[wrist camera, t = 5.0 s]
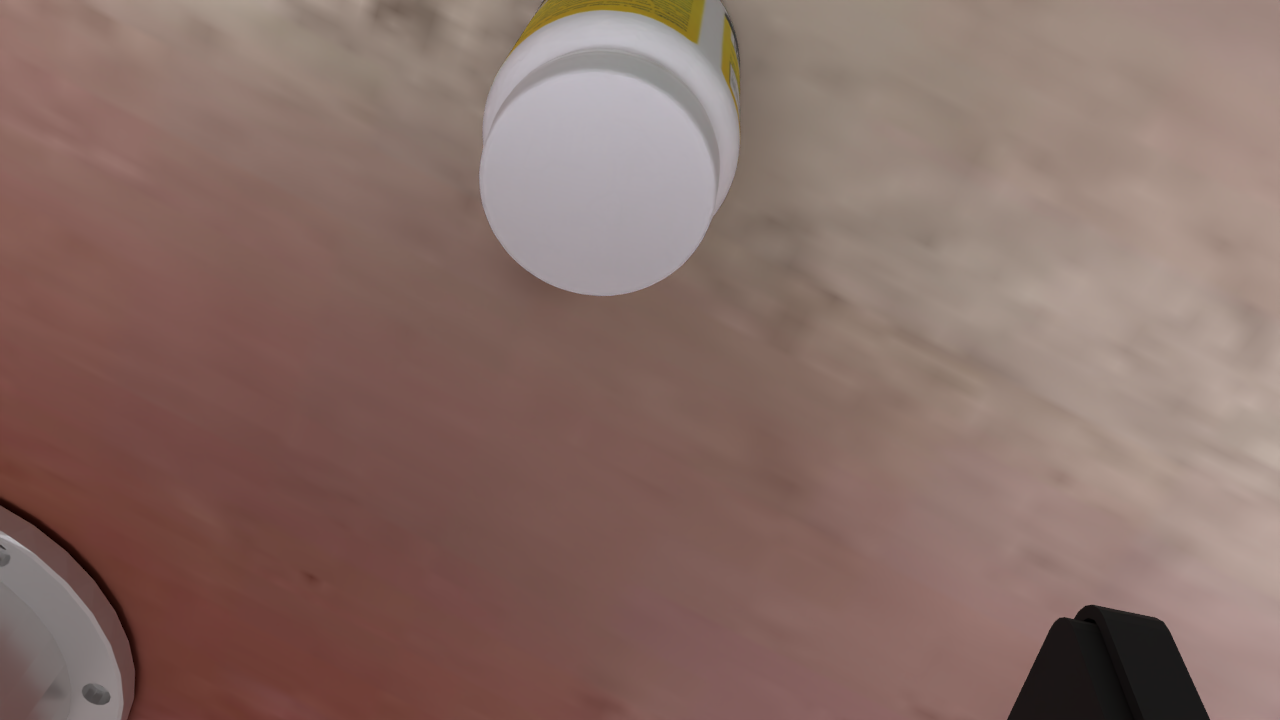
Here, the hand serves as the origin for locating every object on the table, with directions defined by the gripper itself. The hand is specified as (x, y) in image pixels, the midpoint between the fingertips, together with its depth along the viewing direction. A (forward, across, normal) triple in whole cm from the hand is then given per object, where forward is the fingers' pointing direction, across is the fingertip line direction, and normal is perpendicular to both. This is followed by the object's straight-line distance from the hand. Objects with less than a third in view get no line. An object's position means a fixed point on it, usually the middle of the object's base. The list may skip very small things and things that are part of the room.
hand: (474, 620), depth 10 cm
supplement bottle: (+20, 0, 0) cm, 20 cm away
